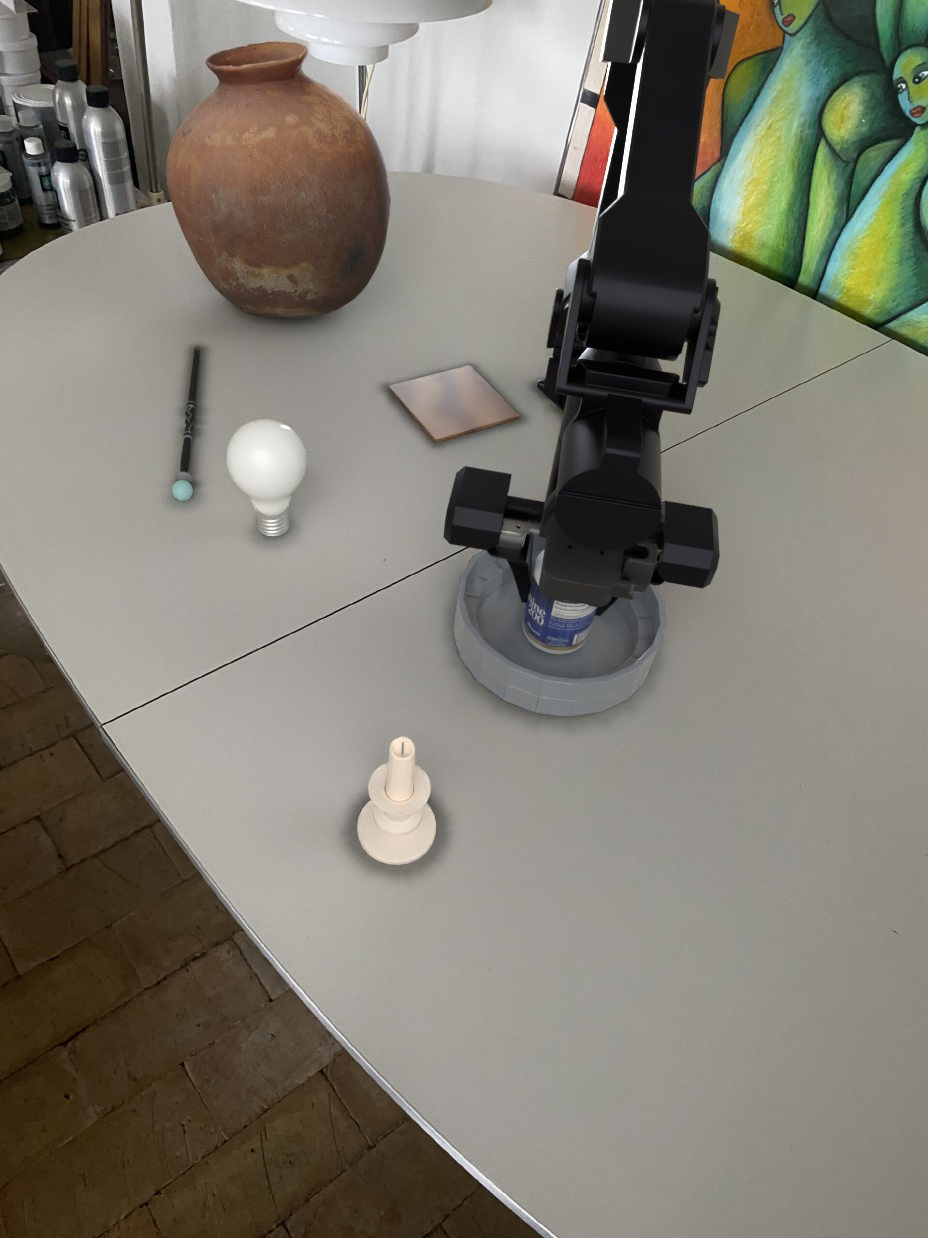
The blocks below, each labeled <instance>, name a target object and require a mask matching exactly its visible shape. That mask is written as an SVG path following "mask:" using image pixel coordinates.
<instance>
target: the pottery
mask: <svg viewBox="0 0 928 1238" xmlns="http://www.w3.org/2000/svg"><path fill="white" fill-rule="evenodd" d="M308 52H309V51H308V48H307V47H306V45H304V44H302V43H299V42H296V41H292V42H289V41H279V40H274V41H265V42H258V43H249V44H246V45H241V46H234V47H231V48H227V49H223V50H219V51H216V52H214V53H212V54H210V55H209V56H208V57H207V58H206V60H205V61H204V62H205V65H206V67H207V68H208V69H209V70H210V71H211V72H212V73H213V74H214V75H215V76H216V78H217V79H218V84H217V85H216V87H215V89H213V91H211V92H210V93H209V94H208V95H206V97H204V98H203V99H202V100H201V101H200V102H198V104H197V105H196V106H195V107H192V109H191V110H190V112H189V113H188V114H187V116H185V118H184V119H183V121H182V122H181V123H180V125H179V127H178V128H177V130H176V132H175V134H174V136H173V138H172V140H171V142H170V145H169V148H168V153H167V157H166V163H165V168H166V169H165V176H166V186H167V190H168V194H169V198H170V202H171V205H172V209H173V211H174V215H175V217H176V219H177V222H178V225H179V227H180V229H181V232H182V234H183V236H184V239H185V241H186V243H187V245H188V247H189V249H190V251H191V253H192V256H193V258H194V260H195V262H196V263H197V265H198V266H199V269H200V270H201V271H202V272H203V274H204V276H205V278H206V279H207V280H208V281H209V283H210V284H211V286H212V287H213V288H214V289H215V290H216V291H217V292H218V293H219V294H220V295H221V296H222V297H224V298H225V299H226V300H227V301H228V302H230V304H232V305H233V306H235V307H236V308H238V309H239V310H240V311H243V312H245V313H248V314H250V315H255V316H260V317H261V316H262V317H271V318H287V319H288V318H291V319H296V318H297V319H299V318H311V317H312V318H313V317H317V316H322V315H326V314H330V313H332V312H335V311H337V310H340V309H341V308H342V307H344V306H346V305H348V304H349V303H351V302H353V300H355V299H356V298H357V297H358V296H359V295H360V294H361V293H362V292H363V291H364V290H365V288H366V287H367V286H368V284H369V283H370V281H371V279H372V278H373V276H374V274H375V272H376V271H377V269H378V266H379V263H380V262H381V259H382V256H383V254H384V250H385V247H386V243H387V235H388V228H389V223H390V216H391V202H392V201H391V191H390V184H389V178H388V172H387V167H386V163H385V159H384V155H383V154H382V151H381V148H380V145H379V142H378V141H377V139H376V136H375V135H374V133H373V131H372V129H371V128H370V126H369V124H368V123H367V121H366V120H365V117H363V116H362V115H361V113H360V112H359V111H358V110H357V109H356V108H355V107H354V106H353V105H352V104H351V103H350V102H348V101H347V100H346V99H345V98H344V97H343V96H342V95H341V94H339V93H338V92H337V91H335V90H333V89H332V88H330V87H328V86H327V85H325V84H323V83H321V82H318V80H315V79H313V78H312V77H309V75H307V74H305V73H304V70H303V69H302V68H303V65H304V62H305V61H306V59H307V57H308V54H309V53H308Z"/></svg>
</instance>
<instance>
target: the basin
mask: <svg viewBox="0 0 928 1238" xmlns="http://www.w3.org/2000/svg"><path fill="white" fill-rule="evenodd" d="M546 540H547V538H543V537H539V534H537V533H534V534H533V553H532V572H533V568H534V564H535V561H536V559H537V557H538V555H539V554H540V553H541V552H542V551H543V550H544V549H545V544H546ZM532 572H531V577H532ZM525 606H526V603H522V602H521V599H520V596H519V592H518V589H517V585H516V582H515V579H514V575H513V572H512V570H511V568H510V566H509V564H508V562H507V560H506V559H502V558H497V557H492V556H490V555H489V554H488V552H487V550H481V549H479V550H478V551H477V552H475V553H474V554H473V555H472V556H471V558H470V559H469V561H468V563H467V564H466V566H465V568H464V569H463V571H462V572H461V574H460V576H459V582H458V591H457V600H456V607H455V615H454V623H453V631H452V632H453V633H452V635H453V638H454V641H455V644H456V648H457V652H458V655H459V658H460V659H461V661H462V662H463V663H464V665H465V667H466V668H467V669H468V670H469V672H470V673H471V674H472V676H473V678H474V679H475V680H476V682H478V683H479V684H481V686H484V687H485V688H486V689H487V690H489V691H490V692H492V693H493V694H494V695H496V696H497V697H498V698H500V699H501V700H502V701H504V702H506V703H509V704H512V705H514V706H518V707H519V708H522V709H525V710H527V711H530V712H532V713H535V714H543V715H550V716H558V717H566V718H567V717H570V718H571V717H575V716H576V717H577V716H584V715H591V714H597V713H601V712H604V711H606V710H608V709H611V708H612V707H615V706H617V705H619V704H621V703H623V702H626V701H627V700H629V698H631V697H632V695H633V694H635V692H636V691H637V690H638V689H640V687H641V686H642V685H643V684H644V683H645V682H646V680H647V678H648V674H649V673H650V670H651V668H652V665H653V663H654V660H655V658H656V655H657V653H658V651H659V648H660V645H661V642H662V639H663V636H664V634H665V631H666V628H667V619H666V618H667V617H666V608H665V607H666V606H665V601H664V598H663V596H662V594H661V592H660V590H659V589H658V585H650V584H649V586H648V587H647V589H646V591H645V592H637V591H634V592H633V596H632V599H631V600H629V599H623V598H618V599H617V600H616V601H615V602H614V603H613V604H612V605H611V606H610V607H609V608H608V609H607V610H606V611H605V612H604V613H603V614H602V615H601V616H596V615H595V616H594V619H593V622H592V626H591V629H590V632H589V635H588V637H587V640H586V642H585V643H584V644H583V646H582V647H581V648H579V649H578V650H576V651H574V652H571V653H568V654H551V653H547V652H544V651H542V650H540V649H538V648H536V647H535V646H533V645H532V644H531V643H530V642H529V641H528V639H527V638H526V636H525V634H524V632H523V627H522V622H523V616H524V611H525Z"/></svg>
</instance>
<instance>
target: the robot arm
mask: <svg viewBox="0 0 928 1238" xmlns="http://www.w3.org/2000/svg"><path fill="white" fill-rule="evenodd" d="M608 6H609V7H608V12H607V18H606V23H605V28H604V32H603V33H604V34H603V39H602V45H601V52H600V57H599V62H600V63H605V64H607V65H608V66H607V71H606V78H605V85H604V90H603V91H604V92H603V99H602V100H603V102H604V105H605V107H606V109H607V112H608V114H609V116H610V119H611V121H612V123H613V125H614V127H615V128H614V133H613V137H612V142H611V145H610V149H609V154H608V160H607V164H606V168H605V174H604V178H603V182H602V186H601V191H600V196H599V200H598V205H597V210H596V214H595V218H594V224H593V227H592V232H591V236H590V241H589V246H588V250H587V251H586V252H584V253H583V254H582V255H580V256H579V257H578V258H577V259H575V260H574V261H573V262H571V263H570V264H569V265H567V266H568V267H567V270H566V275H565V279H564V285H563V288H558V287H556V288H555V289H556V290H555V293H554V297H553V298H554V299H553V304H552V309H551V315H550V320H549V326H548V332H547V340H546V349H550V350H551V349H552V355H551V356H550V357H549V358H548V361H547V367H546V373H545V378H541V379H539V380H537V382H536V387H537V388H538V389H539V391H541V392H542V393H543V394H544V395H545V396H546V397H547V398H548V399H549V400H551V401H552V403H554V404H555V405H556V406H557V407H558V408H559V409H560V410H561V411H562V413H563V414H562V419H561V423H560V427H559V428H560V429H559V431H558V432H559V433H558V437H557V441H556V447H555V450H554V456H553V461H552V466H551V471H550V475H549V479H548V486H547V490H546V494H545V498H544V501H543V500H537V499H530V498H524V497H520V496H513V495H509V492H510V488H511V482H512V475H513V474H512V473H509V472H503V471H496V470H492V469H485V468H479V467H474V466H468V465H464V466H463V467H462V468H461V469H459V470H458V471H457V472H456V473H455V477H454V481H453V485H452V488H451V492H450V496H449V498H448V499H449V500H448V503H447V508H446V512H445V518H444V527H443V535H442V536H443V537H442V538H443V539H444V540H445V541H446V542H447V543H448V544H449V545H451V546H453V545H454V546H459V547H464V548H470V549H475V550H487V552H488V554H489V555H490V556H492V557H497V558H502V559H506V560H507V562H508V564H509V566H510V568H511V570H512V572H513V575H514V579H515V582H516V585H517V589H518V592H519V596H520V599H521V602H522V603H527V599H528V595H529V588H530V582H531V572H532V553H533V534H534V533H537V534H539V537H543V538H547V540H546V544H545V550H544V556H543V562H542V568H541V574H540V580H539V589H540V591H541V593H542V594H543V595H544V596H545V597H547V598H549V599H553V600H566V601H572V602H577V603H583V604H587V605H589V606H593V607H597V610H596V613H595V615H596V616H601V615H602V614H603V613H604V612H605V611H606V610H607V609H608V608H609V607H610V606H611V605H612V604H613V603H614V602H615V601H616V600H617V599H618V598H623V599H629V600H631V599H632V596H633V592H634V591H637V592H645V591H646V589H647V587H648V586H649V584H650V585H656V586H661V585H663V584H664V583H669V584H675V585H679V586H687V587H691V588H695V589H696V588H697V589H704V588H706V587H709V586H710V585H711V583H712V581H713V579H714V577H715V574H716V572H717V570H718V566H719V562H720V555H721V554H720V535H719V519H718V516H717V514H716V513H715V511H714V509H713V508H711V507H706V506H705V507H704V506H699V505H694V504H687V503H682V502H675V501H670V500H663V499H662V496H663V495H662V441H661V433H660V423H661V420H662V417H663V413H664V412H669V413H676V414H682V415H687V416H691V414H692V413H693V409H694V405H695V400H696V394H697V389H698V388H701V389H703V388H704V387H705V386H706V385H707V384H708V383H709V379H710V373H711V368H712V362H713V361H712V360H713V354H714V349H715V344H716V338H717V332H718V326H719V320H720V315H721V314H720V313H721V307H722V303H721V301H720V300H719V298H718V294H719V288H720V287H719V286H718V285H717V279H716V278H712V277H709V274H710V273H709V272H710V259H711V258H710V257H711V243H712V234H711V231H710V230H709V228H708V226H707V225H706V223H705V221H704V219H703V218H702V217H701V215H700V213H699V212H698V210H697V208H696V207H695V205H694V191H695V182H696V176H697V169H698V168H697V167H698V160H699V150H700V143H701V135H702V129H703V128H702V127H703V119H704V113H705V104H706V96H707V90H708V87H709V84H710V82H711V80H725V79H726V74H727V71H728V66H729V62H730V58H731V55H732V50H733V45H734V42H735V38H736V34H737V29H738V26H739V21H740V18H741V14H739V13H737V12H735V11H731V10H729V9H727V8H726V7H727V6H726V5H725V4H721V0H610V2H609V5H608ZM685 343H686V349H685V357H684V363H683V370H682V378H681V376H680V374H678V373H675V372H670V371H663V368H662V366H661V364H660V360H662V361H668V362H675V361H677V359H678V357H680V355H681V354H682V353H683V350H684V347H685ZM680 380H681V381H680Z"/></svg>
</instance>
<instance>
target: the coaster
mask: <svg viewBox="0 0 928 1238" xmlns="http://www.w3.org/2000/svg"><path fill="white" fill-rule="evenodd" d="M388 390H389V391H390V393H391V394H392V395H393V396H394V398H396V399H397V401H398V402H399V403H400V404H401V405H402V407H404V409H405V410H406V411H407V412H408V413H409V415H411V417H412V418H413V419H414V420H415V421H416V422H417V423H418V424H419V426H420V427H421V428H422V429H423V430H424V432H425V433H426V434H427V435H428V436H429V437H430V438H431V439H432V440H433V442H434V443H436V444H437V443H440V442H443V441H447V440H450V439H454V438H457V437H460V436H465V435H467V434H470V433H475V432H478V431H481V430H485V429H487V428H491V427H494V426H498V425H501V424H506V423H509V422H512V421H515V420H519V419H520V418H521V415H520V413H519V412H518V411H516V409H514V407H513V406H512V405H511V404H510V403H508V402H507V401H506V400H505V399H504V397H502V395H501V394H499V392H498V391H496V389H495V388H493V386H492V385H490V383H489V382H488V381H487V380H486V379H485V378H484V377H482V375H481V374H480V373H479V372H478V371H477V370H476V369H475V368H474V367H472V365H470V364H468V365H464V366H461V367H457V368H453V369H449V370H445V371H441V372H437V373H434V374H430V375H426V376H421V377H418V378H413V379H410V380H406V381H401V382H398V383H395V384H391V385H388Z"/></svg>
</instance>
